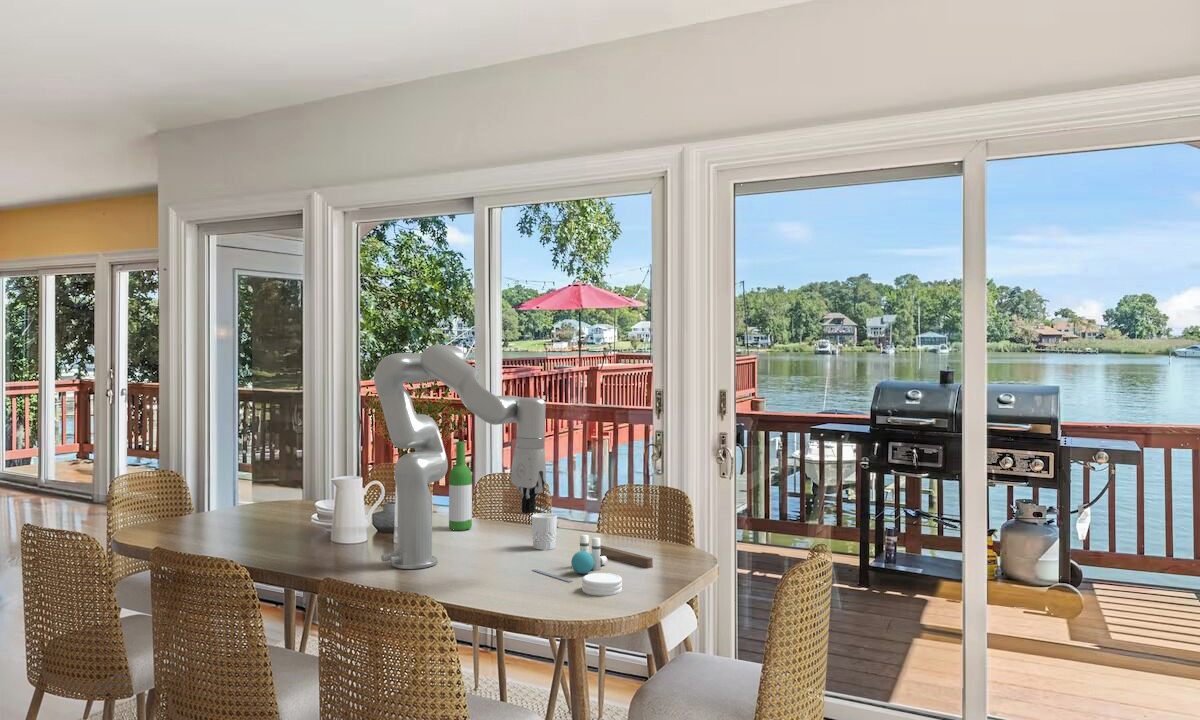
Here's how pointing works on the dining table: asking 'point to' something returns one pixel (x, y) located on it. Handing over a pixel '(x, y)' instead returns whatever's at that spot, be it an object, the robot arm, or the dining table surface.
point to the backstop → (626, 557)
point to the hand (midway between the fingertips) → (528, 512)
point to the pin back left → (584, 543)
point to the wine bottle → (460, 492)
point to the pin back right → (596, 553)
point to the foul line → (552, 575)
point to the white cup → (544, 530)
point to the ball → (582, 562)
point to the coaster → (602, 584)
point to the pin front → (603, 560)
